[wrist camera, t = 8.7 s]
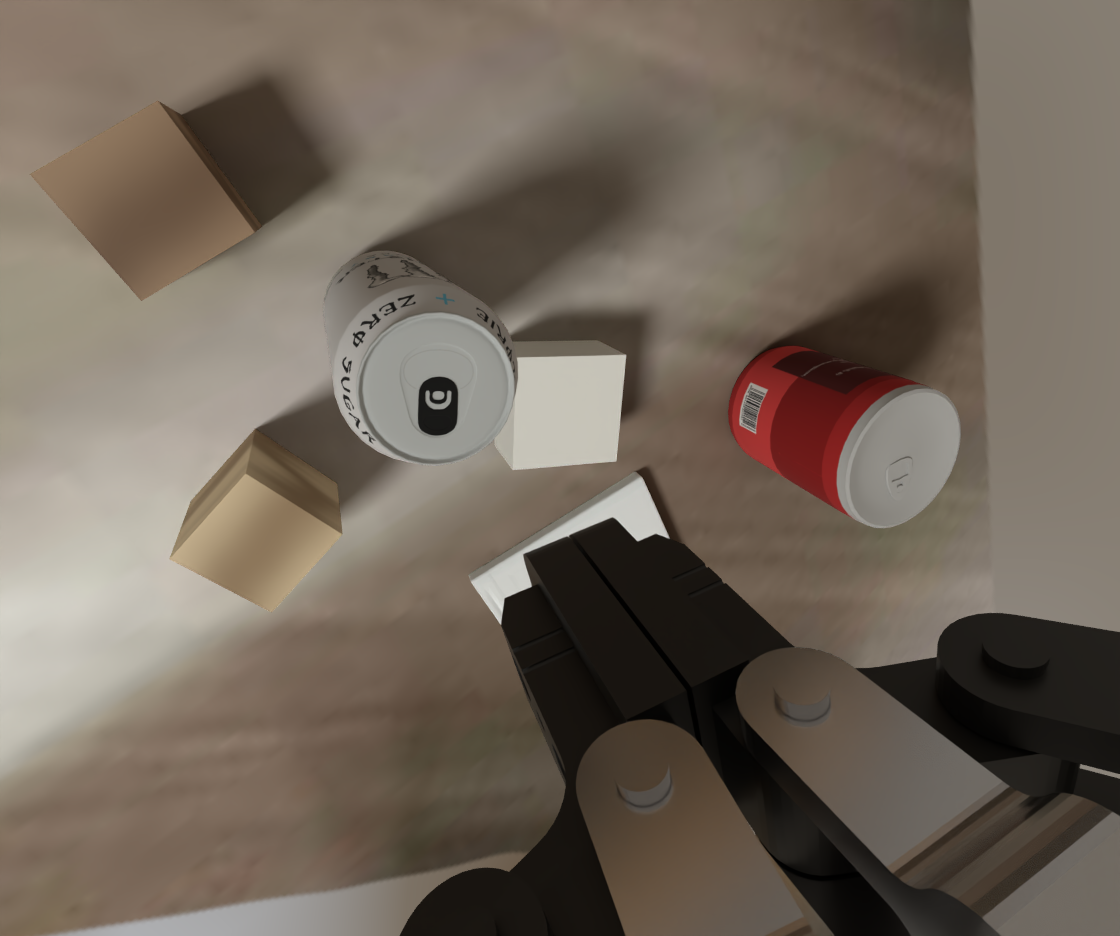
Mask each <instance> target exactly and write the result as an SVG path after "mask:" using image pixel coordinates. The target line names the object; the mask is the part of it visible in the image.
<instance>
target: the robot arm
mask: <svg viewBox="0 0 1120 936" xmlns="http://www.w3.org/2000/svg"><path fill="white" fill-rule="evenodd" d="M523 557H524V562H525V565H526V569H527V572H528V575H529V578H530V581H531V585H532V587H530V588H527V589H525V590H523V591H520V592H518V593H515V594H513V595H511V596H508V597H506V598H505V599H504V606H503V613H502V620H501V626H502V629H503V632H504V635H505V638H506V640H507V643H508V646H509V649H510V652H511V654H512V657H513V660H514V663H515V666H516V668H517V671H518V674H519V677H520V680H521V682H522V685H523V688H524V691H525V694H526V696H527V699H528V701H529V703H530V706H531V708H532V710H533V712H534V715H535V717H536V719H537V721H538V724H539V725H540V728H541V730H542V733H543V735H544V737H545V739H546V742H547V744H548V746H549V748H550V751H551V753H552V755H553V758H554V760H555V762H556V764H557V767H558V769H559V771H560V773H561V776H562V778H563V780H564V783H565V785H566V789H565V794H564V800H563V803H562V806H561V809H560V812H559V814H558V816H557V818H556V820H555V822H554V823H553V825H552V826H551V828H550V829H549V831H548V832H547V834H546V835H545V836H544V837H543V838H542V839H541V841H540V842H539V843H538V844H537V845H536V846H535V847H534V848H533V849H532V850H531V851H530V852H529V853H528V854H527V855H526V856H525V857H524V858H523V859H522V860H521V861H520V862H519V863H518V864H517V865H516V866H515V867H514V868H513V869H512V870H511V871H510V872H508V871H504V870H501V869H496V868H478V869H472V870H469V871H465V872H462V873H460V874H458V875H455V876H453V877H451V878H449V879H448V880H446V881H445V882H443V883H441V884H440V885H438V886H437V887H436V888H435V889H434V890H433V891H431V892H430V893H429V894H428V895H427V896H426V897H425V898H424V899H423V900H422V902H421V903H420V904H419V905H418V906H417V907H416V909H415V910H414V912H413V913H412V915H411V916H410V918H409V919H408V921H407V923H406V925H405V927H404V928H403V930H402V932H401V934H400V936H1120V779H1118V778H1115V777H1111V776H1107V775H1103V774H1099V773H1095V772H1092V771H1088V770H1084V769H1080V764H1083V765H1087V766H1090V767H1094V768H1098V769H1102V770H1106V771H1110V772H1114V773H1118V774H1120V632H1115V631H1108V630H1103V629H1097V628H1091V627H1084V626H1079V625H1073V624H1067V623H1061V622H1055V621H1049V620H1043V619H1037V618H1031V617H1025V616H1018V615H1012V614H1003V613H985V614H976V615H971V616H967V617H964V618H962V619H959V620H957V621H955V622H954V623H952V624H950V625H949V626H948V627H947V628H946V629H945V630H944V631H943V633H942V634H941V636H940V638H939V641H938V647H937V657H935V658H929V659H923V660H917V661H911V662H905V663H899V664H894V665H888V666H882V667H874V668H854V667H853V666H851V665H850V664H848V663H847V662H845V661H844V660H842V659H841V658H839V657H837V656H835V655H832V654H830V653H827V652H824V651H821V650H816V649H812V648H803V647H794V646H793V645H792V644H790V643H789V642H788V641H787V640H786V639H785V638H784V637H783V636H782V635H781V634H780V633H779V632H778V631H776V630H775V629H774V628H773V627H772V626H771V625H770V624H769V623H768V622H767V621H766V620H765V619H764V618H763V617H761V616H760V615H759V614H758V613H757V612H756V611H755V610H754V609H753V608H752V607H751V606H750V605H749V604H748V603H747V602H745V601H744V600H743V599H742V598H741V597H740V596H739V595H738V594H737V593H736V592H735V591H734V590H733V589H732V588H731V587H729V586H728V585H727V584H726V583H725V584H724V583H723V582H722V579H721V578H720V577H719V576H718V575H717V574H716V573H714V572H713V571H712V570H711V569H710V568H709V567H708V568H707V567H706V566H705V563H704V562H703V561H702V560H701V559H700V558H698V557H697V556H696V555H695V554H694V553H693V552H692V551H691V550H690V549H689V548H688V547H687V546H686V545H684V544H682V543H679V542H677V541H674V540H671V539H669V538H666V537H663V536H661V535H658V534H654V535H651V536H649V537H647V538H644V539H642V540H640V541H637V540H636V539H635V538H634V537H633V536H632V535H631V534H630V533H629V532H628V531H627V530H626V529H625V528H624V527H623V526H622V525H621V524H620V523H619V521H618V520H616V519H615V518H613V517H611V518H609V519H606V520H604V521H602V522H599V523H597V524H594V525H592V526H589V527H587V528H585V529H582V530H580V531H577V532H575V533H572V534H570V535H569V537H568V536H566V537H563V538H561V539H558V540H556V541H554V542H551V543H549V544H546V545H544V546H541V547H539V548H537V549H534V550H532V551H529V552H527V553H524V554H523ZM746 820H747V821H746ZM748 823H749V824H748ZM749 825H750V826H751V827H752V829H753V830H754V832H755V834H754V832H753V830H752V829H751V827H750V826H749Z"/></svg>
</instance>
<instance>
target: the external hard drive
mask: <svg viewBox="0 0 1120 936" xmlns="http://www.w3.org/2000/svg"><path fill="white" fill-rule="evenodd" d="M611 517H613V518H615V519H616V520H618V521H619V523H620V524H621V525H622V526H623V527H624V528H625V529H626V530H627V531H628V532H629V533H630V534H631V535H632V536H633V537H634V538H635V539H636V540H637V541H640V540H642V539H644V538H647V537H649V536H651V535H654V534H658V535H661V536H663V537H666V538H669V535H668V533H667V531H666V529H665V526H664V524H663V522H662V520H661V517H660V515H659V513H658V511H657V508H656V506H655V504H654V502H653V500H652V497H651V495H650V493H649V491H648V488H647V486H646V484H645V482H644V480H643V478H642V477H641V476H640V475H639V474H638V473H637V472H636V471H635V472H633V473H631V474H630V475H628V476H627V477H625V478H624V479H622V480H620V481H619V482H617V483H615V484H614V485H612V486H611V487H609V488H607V489H606V490H604V491H603V492H601V493H599V494H598V495H596V496H595V497H593V498H591V499H590V500H588V501H587V502H585V503H583V504H582V505H580V506H578V507H577V508H575V509H574V510H572V511H570V512H569V513H567V514H566V515H564V516H562V517H561V518H559V519H558V520H556V521H554V522H553V523H551V524H549V525H548V526H546V527H545V528H543V529H541V530H540V531H538V532H536V533H535V534H533V535H532V536H530V537H528V538H527V539H525V540H524V541H522V542H520V543H519V544H517V545H515V546H514V547H512V548H511V549H509V550H507V551H506V552H504V553H503V554H501V555H499V556H498V557H496V558H495V559H493V560H491V561H490V562H488V563H487V564H485V565H483V566H481V567H480V568H478V569H477V570H475V571H473V572H472V573H470V574H469V577H470V580H471V582H472V584H473V585H474V587H475V589H476V590H477V591H478V593H479V594H480V595H481V597H482V598H483V600H484V601H485V603H486V604H487V606H488V607H489V608H490V610H491V611H492V613H493V614H494V616H495V617H496V619H497V620H498V621H499V623H500V624H501V620H502V613H503V606H504V599H505V598H506V597H508V596H511V595H513V594H515V593H518V592H520V591H523V590H525V589H527V588H530V587H532V585H531V581H530V578H529V575H528V572H527V569H526V565H525V562H524V557H523V554H524V553H527V552H529V551H532V550H534V549H537V548H539V547H541V546H544V545H546V544H549V543H551V542H554V541H556V540H558V539H561V538H563V537H566V536H568V537H569V535H570V534H572V533H575V532H577V531H580V530H582V529H585V528H587V527H589V526H592V525H594V524H597V523H599V522H602V521H604V520H606V519H609V518H611ZM669 539H670V538H669Z"/></svg>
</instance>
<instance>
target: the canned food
mask: <svg viewBox="0 0 1120 936" xmlns="http://www.w3.org/2000/svg"><path fill="white" fill-rule="evenodd" d="M728 415H729V424H730V429H731V432H732V434H733V436H734V438H735V440H736V441H737V443H738V444H739V446H740V447H741V448H742V449H743V451H744V452H745V453H746V454H748V455H749V456H750V457H752V458H753V459H755V460H757V461H758V462H760V463H762V464H763V465H765V466H767V467H768V468H770V469H771V470H773V471H775V472H776V473H778V474H780V475H781V476H783V477H785V478H786V479H788V480H790V481H791V482H793V483H794V484H796V485H798V486H799V487H801V488H803V489H804V490H806V491H808V492H809V493H811V494H812V495H814V496H816V497H817V498H819V499H821V500H822V501H824V502H826V503H827V504H829V505H831V506H832V507H834V508H835V509H837V510H839V511H840V512H842V513H844V514H846V515H848V516H849V517H851V518H853V519H854V520H856V521H859V522H861V523H863V524H866V525H868V526H871V527H875V528H887V527H893V526H896V525H899V524H901V523H904V522H906V521H908V520H909V519H911V518H913V517H914V516H916V515H917V514H918V513H920V512H921V511H922V510H923V509H925V508H926V507H927V506H928V504H929V503H930V502H931V501H932V500H933V499H934V498H935V497H936V496H937V494H938V493H939V492H940V490H941V489H942V487H943V486H944V484H945V482H946V481H947V479H948V477H949V475H950V473H951V471H952V469H953V466H954V464H955V462H956V458H957V454H958V451H959V446H960V438H961V428H960V420H959V416H958V412H957V410H956V408H955V406H954V404H953V402H952V401H951V400H950V399H949V398H948V397H947V396H946V395H945V394H943V393H941V392H939V391H937V390H934V389H933V388H931V387H929V386H926V385H923V384H920V383H916V382H914V381H912V380H908V379H905V378H902V377H899V376H895V375H892V374H889V373H886V372H882V371H879V370H876V369H873V368H869V367H866V366H863V365H860V364H856V363H853V362H850V361H847V360H844V359H840V358H837V357H834V356H831V355H827V354H824V353H821V352H818V351H814V350H811V349H808V348H804V347H800V346H784V347H778V348H774V349H770V350H768V351H766V352H764V353H762V354H760V355H759V356H758V357H756V358H755V359H754V360H752V361H751V362H750V363H749V365H748V366H747V367H746V368H745V369H744V370H743V372H742V373H741V375H740V376H739V378H738V379H737V381H736V384H735V386H734V388H733V390H732V394H731V397H730V401H729V409H728Z"/></svg>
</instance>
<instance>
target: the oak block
mask: <svg viewBox="0 0 1120 936" xmlns="http://www.w3.org/2000/svg"><path fill="white" fill-rule="evenodd" d="M341 535H342V525H341V516H340V506H339V497H338V487H337V483H335V482H334V481H332V480H331V479H329V478H328V477H326V476H325V475H323V474H322V473H320V472H319V471H317V470H316V469H314V468H313V467H311V466H310V465H308V464H307V463H306V462H304V461H303V460H301V459H300V458H298V457H297V456H295V455H294V454H292V453H291V452H289V451H288V450H286V449H285V448H283V447H282V446H280V445H279V444H277V443H276V442H274V441H273V440H271V439H270V438H268V437H267V436H265V435H264V434H263V433H261V432H260V431H258V430H257V429H255V430H254V431H253V432H252V433H251V434H250V435H249V436H248V437H247V439H246V440H245V441H244V442H243V443H242V444H241V445H240V446H239V448H238V449H237V450H236V451H235V452H234V453H233V454H232V455H231V457H230V458H229V459H228V460H227V461H226V462H225V463H224V464H223V466H222V467H221V468H220V469H219V470H218V471H217V472H216V473H215V475H214V476H213V477H212V478H211V479H210V480H209V481H208V482H207V484H206V485H205V486H204V487H203V488H202V489H201V490H200V492H199V493H198V494H197V495H196V496H195V497H194V498H193V499H192V501H191V502H190V505H189V508H188V510H187V513H186V516H185V518H184V521H183V524H182V527H181V529H180V532H179V535H178V537H177V540H176V543H175V545H174V548H173V551H172V554H171V556H170V560H172V561H174V562H176V563H178V564H180V565H182V566H184V567H186V568H188V569H189V570H191V571H193V572H195V573H197V574H199V575H201V576H203V577H205V578H207V579H209V580H211V581H212V582H214V583H216V584H218V585H220V586H222V587H224V588H226V589H228V590H230V591H232V592H234V593H235V594H237V595H239V596H241V597H243V598H245V599H247V600H249V601H251V602H253V603H255V604H257V605H258V606H260V607H262V608H264V609H266V610H268V611H270V612H273V610H274V609H275V608H276V607H277V606H278V605H279V604H280V603H281V602H282V601H283V599H284V598H285V597H286V596H287V595H288V594H289V593H290V592H291V591H292V589H293V588H294V587H295V586H296V585H297V584H298V583H299V582H300V581H301V580H302V578H303V577H304V576H305V575H306V574H307V573H308V572H309V571H310V570H311V569H312V567H313V566H314V565H315V564H316V563H317V562H318V561H319V560H320V559H321V558H322V556H323V555H324V554H325V553H326V552H327V551H328V550H329V549H330V548H331V547H332V545H333V544H334V543H335V542H336V541H337V540H338V539H339V538H340V537H341Z"/></svg>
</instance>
